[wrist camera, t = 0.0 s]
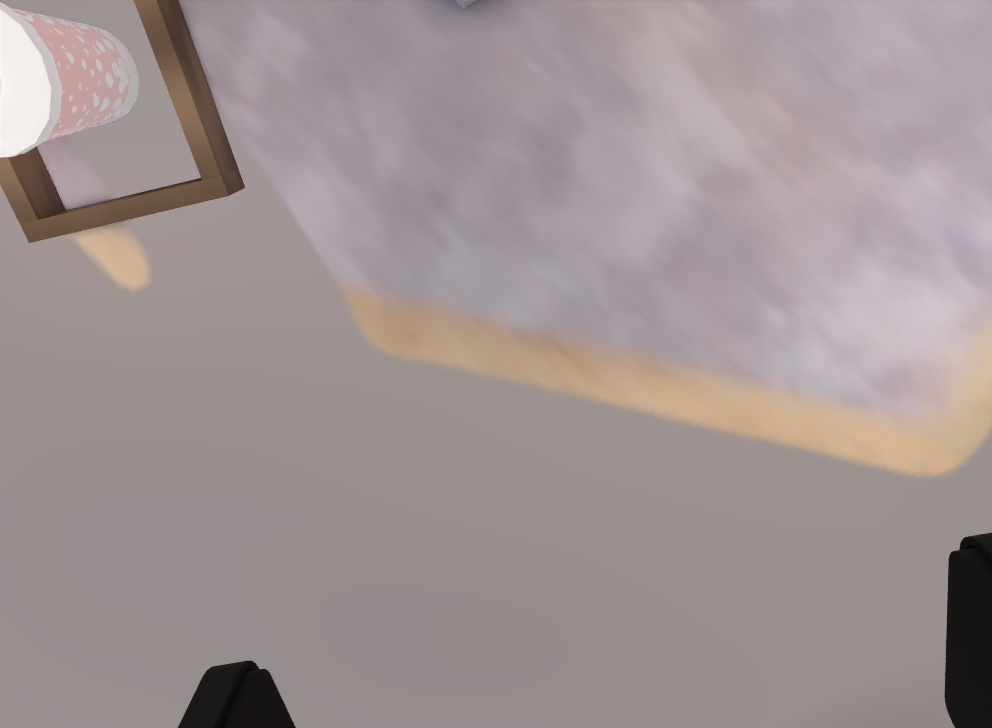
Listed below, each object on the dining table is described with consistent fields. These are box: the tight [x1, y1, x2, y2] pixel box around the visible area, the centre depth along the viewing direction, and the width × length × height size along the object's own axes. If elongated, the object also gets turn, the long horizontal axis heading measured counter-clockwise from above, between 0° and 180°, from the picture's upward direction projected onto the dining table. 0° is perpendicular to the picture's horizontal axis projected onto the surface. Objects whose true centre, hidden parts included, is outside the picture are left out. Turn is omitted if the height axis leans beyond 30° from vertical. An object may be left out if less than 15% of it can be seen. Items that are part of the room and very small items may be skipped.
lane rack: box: [0, 0, 245, 243], centre depth 34 cm, size 15×11×2 cm
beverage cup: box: [0, 3, 140, 158], centre depth 29 cm, size 6×6×14 cm
